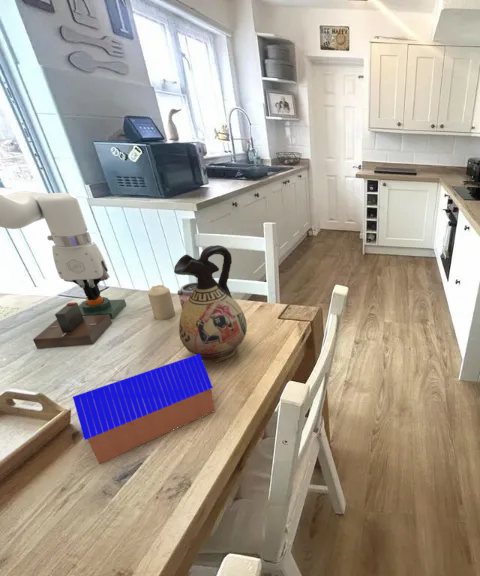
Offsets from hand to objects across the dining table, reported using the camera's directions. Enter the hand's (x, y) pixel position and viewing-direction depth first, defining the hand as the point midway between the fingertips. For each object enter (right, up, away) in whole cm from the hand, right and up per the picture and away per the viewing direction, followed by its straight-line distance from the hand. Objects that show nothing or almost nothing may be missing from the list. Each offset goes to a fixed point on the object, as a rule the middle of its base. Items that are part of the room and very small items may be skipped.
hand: (94, 297), depth 97 cm
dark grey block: (+3, -7, -9) cm, 12 cm away
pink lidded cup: (+31, -7, +2) cm, 32 cm away
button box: (-1, -5, +2) cm, 6 cm away
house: (+40, -24, -30) cm, 56 cm away
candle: (+19, -6, +4) cm, 20 cm away
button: (0, -2, +1) cm, 2 cm away
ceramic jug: (+44, -14, -10) cm, 47 cm away
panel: (+2, -10, -8) cm, 13 cm away
